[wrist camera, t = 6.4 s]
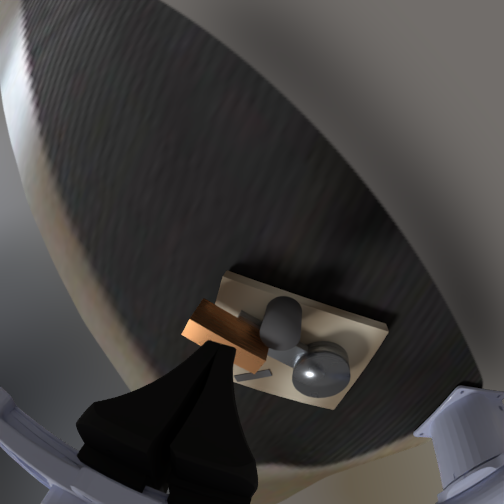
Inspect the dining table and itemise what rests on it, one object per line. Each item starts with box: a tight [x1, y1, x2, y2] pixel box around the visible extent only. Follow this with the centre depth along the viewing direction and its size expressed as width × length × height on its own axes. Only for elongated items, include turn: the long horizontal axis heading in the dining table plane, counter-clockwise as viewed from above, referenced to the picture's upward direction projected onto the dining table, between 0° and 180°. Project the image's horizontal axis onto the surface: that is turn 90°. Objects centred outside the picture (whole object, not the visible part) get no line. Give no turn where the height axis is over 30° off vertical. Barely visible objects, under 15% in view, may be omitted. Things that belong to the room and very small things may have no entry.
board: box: [215, 271, 389, 410], centre depth 20 cm, size 12×9×1 cm
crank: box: [182, 298, 351, 398], centre depth 18 cm, size 12×4×3 cm, turn 62°
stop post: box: [260, 296, 302, 351], centre depth 18 cm, size 2×2×3 cm
